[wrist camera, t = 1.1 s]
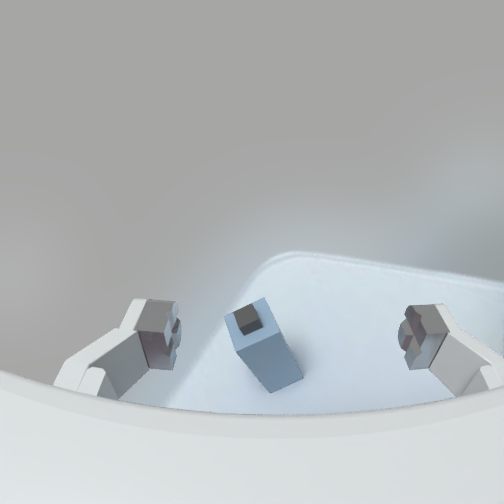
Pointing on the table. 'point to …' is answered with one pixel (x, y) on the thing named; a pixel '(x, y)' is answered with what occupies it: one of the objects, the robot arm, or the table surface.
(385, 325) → the table surface
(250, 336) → the plug block
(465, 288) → the table surface
